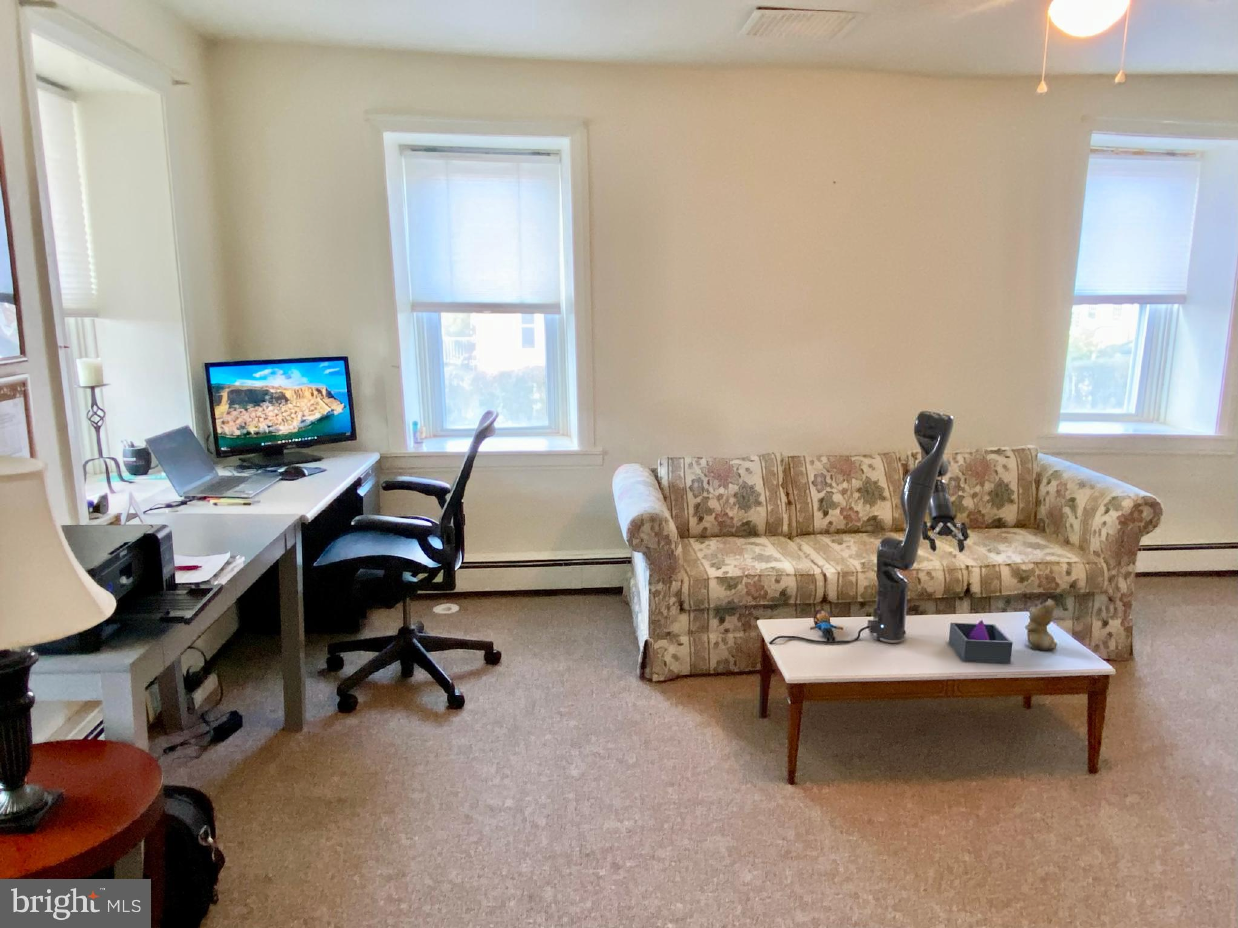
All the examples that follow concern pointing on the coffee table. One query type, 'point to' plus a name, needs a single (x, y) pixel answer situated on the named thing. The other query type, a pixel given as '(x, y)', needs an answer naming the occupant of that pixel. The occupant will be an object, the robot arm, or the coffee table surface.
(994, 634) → the bin
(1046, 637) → the figurine
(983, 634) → the arrowhead
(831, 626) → the toy
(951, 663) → the coffee table surface
